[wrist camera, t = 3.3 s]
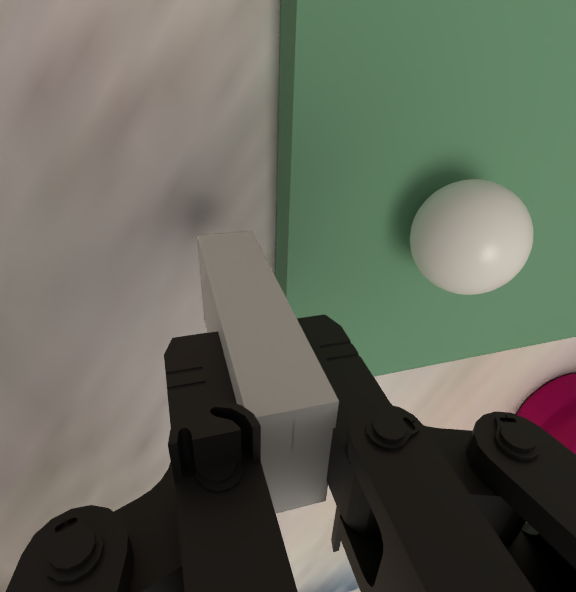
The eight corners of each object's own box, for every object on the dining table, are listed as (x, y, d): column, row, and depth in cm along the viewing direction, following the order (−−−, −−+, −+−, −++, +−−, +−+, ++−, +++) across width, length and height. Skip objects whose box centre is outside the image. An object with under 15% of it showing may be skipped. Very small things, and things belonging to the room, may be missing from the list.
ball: (383, 267, 18) (438, 325, 15) (399, 167, 16) (469, 210, 13) (468, 256, 19) (537, 308, 16) (495, 161, 17) (581, 199, 14)
